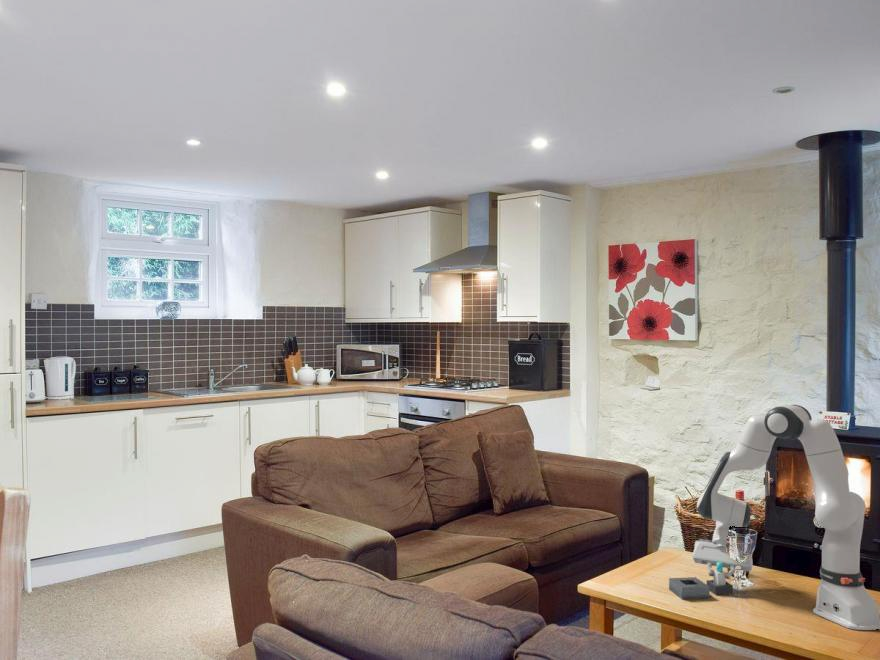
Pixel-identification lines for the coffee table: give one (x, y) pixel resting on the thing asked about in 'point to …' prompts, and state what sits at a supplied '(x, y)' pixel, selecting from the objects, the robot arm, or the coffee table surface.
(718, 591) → the holster
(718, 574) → the plug
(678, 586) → the port block
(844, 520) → the robot arm
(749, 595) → the coffee table surface
